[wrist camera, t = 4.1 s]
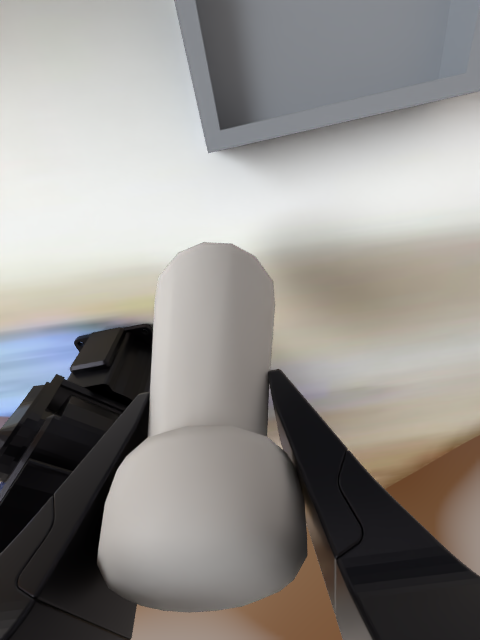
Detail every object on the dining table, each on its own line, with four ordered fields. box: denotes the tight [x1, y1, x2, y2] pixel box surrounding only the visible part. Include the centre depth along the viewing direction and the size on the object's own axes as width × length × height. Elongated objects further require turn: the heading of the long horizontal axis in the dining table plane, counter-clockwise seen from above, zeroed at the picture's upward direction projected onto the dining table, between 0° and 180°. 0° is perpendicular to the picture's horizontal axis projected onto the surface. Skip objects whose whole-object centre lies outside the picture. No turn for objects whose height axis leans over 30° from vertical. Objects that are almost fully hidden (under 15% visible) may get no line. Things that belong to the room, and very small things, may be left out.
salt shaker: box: [97, 242, 307, 612], centre depth 11 cm, size 6×6×13 cm
